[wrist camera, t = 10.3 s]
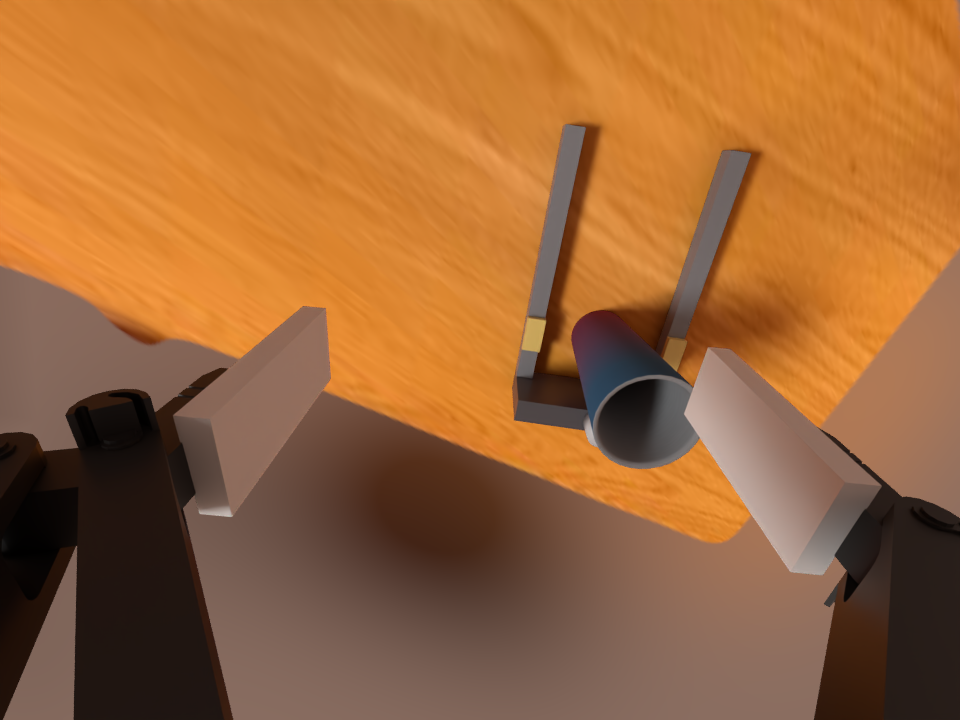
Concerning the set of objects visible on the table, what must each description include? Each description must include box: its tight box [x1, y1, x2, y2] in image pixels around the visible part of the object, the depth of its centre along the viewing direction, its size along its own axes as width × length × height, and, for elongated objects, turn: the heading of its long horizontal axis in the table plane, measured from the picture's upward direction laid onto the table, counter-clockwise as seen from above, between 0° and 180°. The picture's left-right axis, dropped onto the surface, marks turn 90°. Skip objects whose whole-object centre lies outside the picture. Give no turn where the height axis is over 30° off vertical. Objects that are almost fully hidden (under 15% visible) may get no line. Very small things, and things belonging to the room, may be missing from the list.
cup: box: [571, 311, 700, 469], centre depth 34 cm, size 7×7×15 cm
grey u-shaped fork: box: [512, 124, 751, 447], centre depth 35 cm, size 23×14×8 cm, turn 172°
